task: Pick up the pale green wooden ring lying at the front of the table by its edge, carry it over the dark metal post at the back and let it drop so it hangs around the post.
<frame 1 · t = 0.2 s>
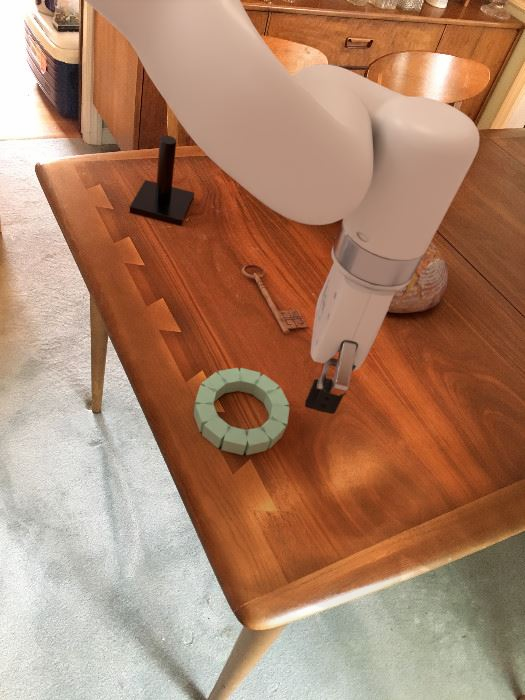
hand: (322, 373, 61), 12 cm above the table, tool pointing down, fingers open, 9 cm apart
post: (162, 205, 97), on the table
key: (271, 299, 86), on the table
ring: (240, 414, 70), on the table
dinosaur figurine: (357, 208, 110), on the table
seashell: (291, 202, 106), on the table
bread: (393, 283, 96), on the table
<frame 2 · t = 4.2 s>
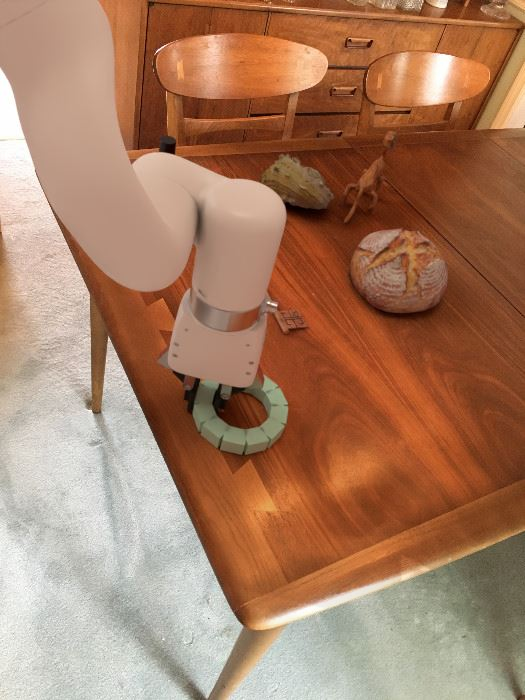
hand: (204, 404, 70), 0 cm above the table, tool pointing down, fingers closed on ring, 2 cm apart
ring: (239, 414, 70), on the table, touching gripper
everything else where it was.
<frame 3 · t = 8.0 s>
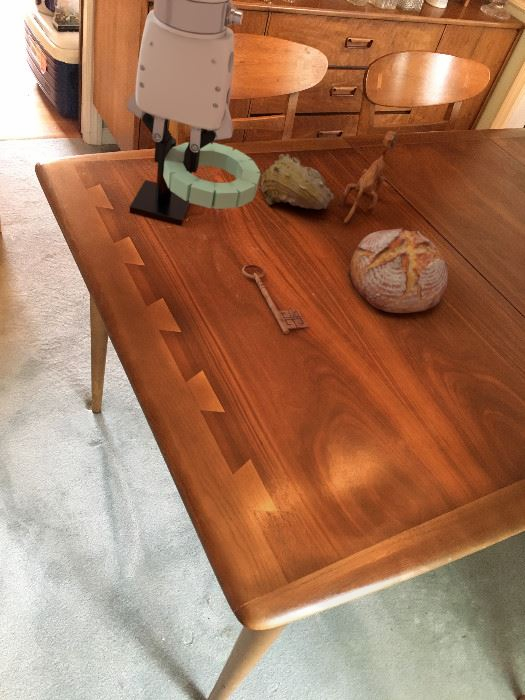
hand: (175, 170, 70), 19 cm above the table, tool pointing down, fingers closed on ring, 2 cm apart
ring: (210, 181, 70), point 19 cm above the table, touching gripper
everything else where it was.
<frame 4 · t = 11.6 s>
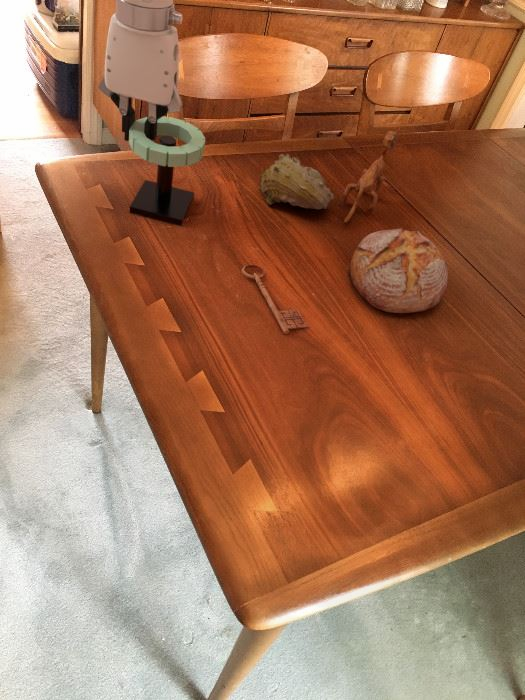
hand: (139, 138, 89), 11 cm above the table, tool pointing down, fingers closed on ring, 2 cm apart
ring: (166, 147, 89), point 11 cm above the table, touching gripper
everything else where it was.
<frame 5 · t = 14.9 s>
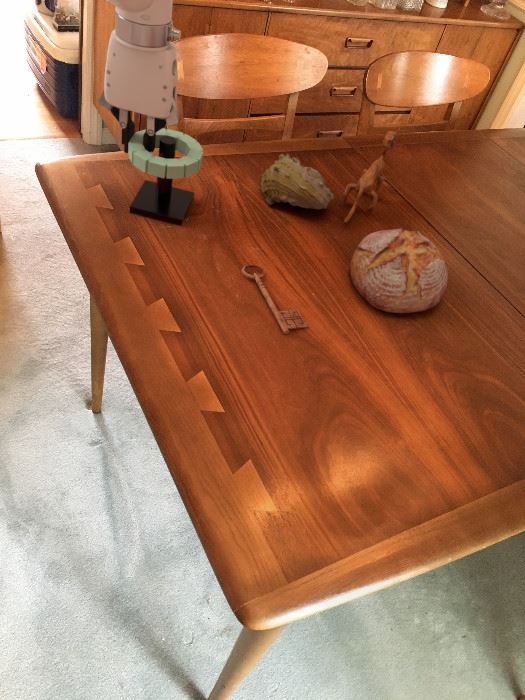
hand: (138, 150, 90), 9 cm above the table, tool pointing down, fingers closed on ring
ring: (165, 158, 91), point 9 cm above the table, touching gripper
everything else where it was.
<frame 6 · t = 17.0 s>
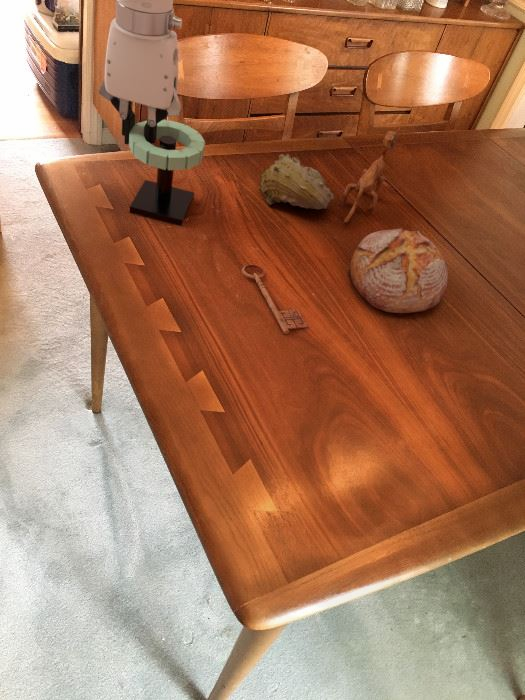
hand: (138, 142, 89), 10 cm above the table, tool pointing down, fingers closed on ring, 2 cm apart
ring: (166, 150, 89), point 10 cm above the table, touching gripper
everything else where it was.
when the fingers open (13 cm above the table, at t = 18.8 s): ring drops 11 cm, resting on post.
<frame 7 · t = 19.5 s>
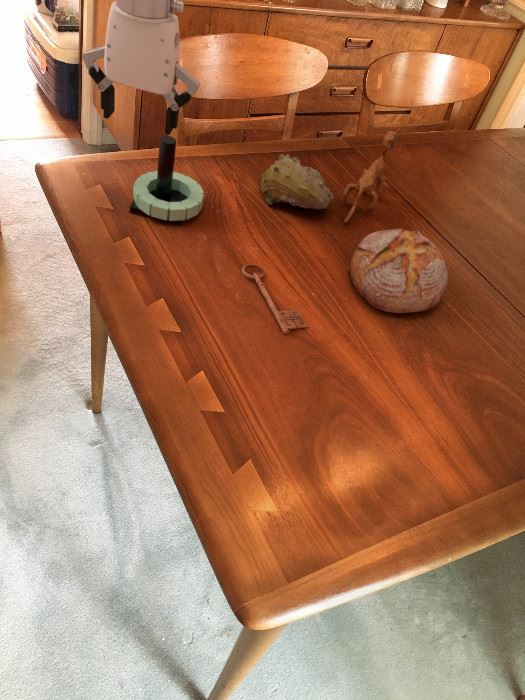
hand: (139, 123, 87), 14 cm above the table, tool pointing down, fingers open, 9 cm apart
ring: (168, 200, 96), point 1 cm above the table, touching post
everything else where it was.
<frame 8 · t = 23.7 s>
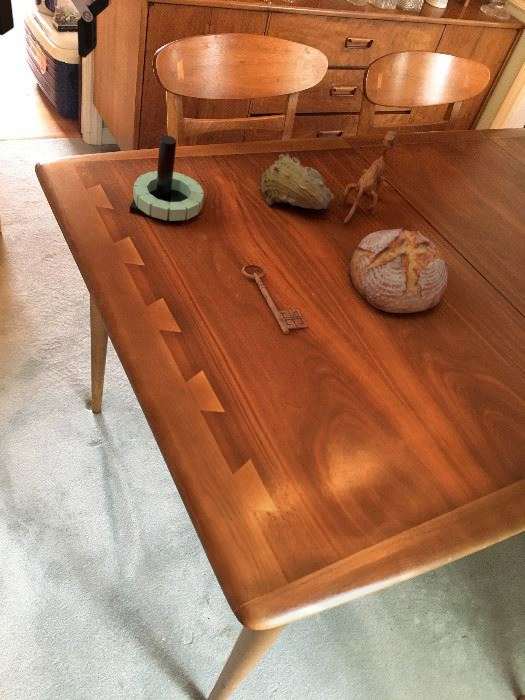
hand: (46, 42, 66), 28 cm above the table, tool pointing down, fingers open, 9 cm apart
nothing on the table moved.
at the end: ring 0.9 cm from the post (horizontally); ring point 1.2 cm above the table; the gripper is holding nothing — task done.
